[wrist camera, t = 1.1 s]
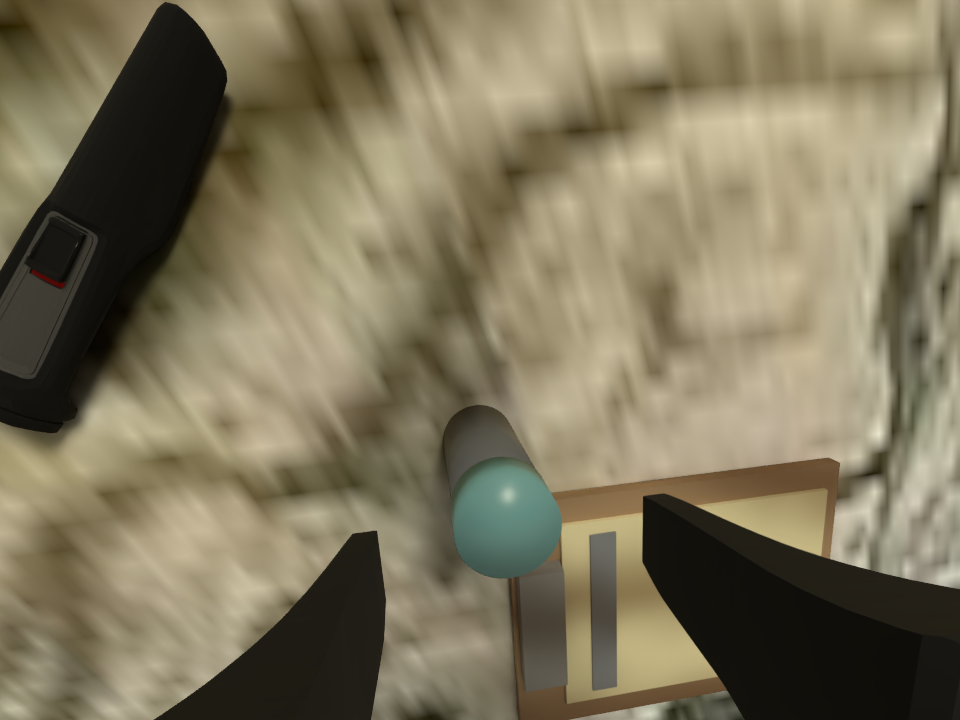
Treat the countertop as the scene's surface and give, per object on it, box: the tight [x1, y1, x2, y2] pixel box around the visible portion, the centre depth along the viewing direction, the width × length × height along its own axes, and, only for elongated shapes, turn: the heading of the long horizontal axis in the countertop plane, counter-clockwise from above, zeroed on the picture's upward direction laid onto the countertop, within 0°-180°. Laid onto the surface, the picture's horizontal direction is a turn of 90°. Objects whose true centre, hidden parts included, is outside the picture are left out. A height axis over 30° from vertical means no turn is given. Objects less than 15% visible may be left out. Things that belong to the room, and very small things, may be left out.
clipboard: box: [510, 458, 840, 720], centre depth 22 cm, size 12×16×1 cm
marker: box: [443, 405, 562, 578], centre depth 16 cm, size 3×3×7 cm
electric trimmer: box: [0, 2, 227, 433], centre depth 15 cm, size 4×15×3 cm, turn 146°
